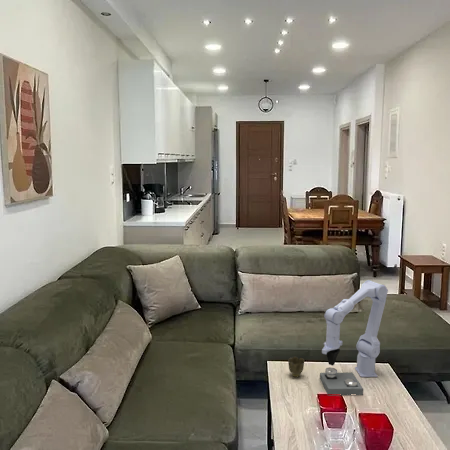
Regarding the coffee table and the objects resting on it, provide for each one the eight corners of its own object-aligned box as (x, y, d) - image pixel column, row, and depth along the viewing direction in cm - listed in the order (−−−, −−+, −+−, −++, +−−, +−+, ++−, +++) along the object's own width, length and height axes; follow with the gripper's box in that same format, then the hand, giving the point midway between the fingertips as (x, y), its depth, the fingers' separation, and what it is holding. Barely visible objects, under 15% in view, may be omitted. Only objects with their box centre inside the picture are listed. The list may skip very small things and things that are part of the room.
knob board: (319, 378, 215) (320, 372, 215) (352, 378, 216) (352, 372, 215) (328, 395, 200) (328, 388, 200) (362, 395, 201) (363, 388, 200)
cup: (306, 375, 219) (307, 358, 217) (300, 381, 212) (300, 364, 211) (291, 371, 223) (292, 355, 221) (285, 377, 216) (285, 360, 215)
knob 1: (323, 375, 213) (324, 367, 213) (335, 375, 213) (335, 367, 213) (326, 380, 208) (327, 372, 208) (338, 380, 208) (338, 372, 208)
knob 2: (343, 386, 207) (343, 378, 206) (354, 386, 207) (355, 378, 207) (346, 392, 202) (347, 384, 201) (358, 392, 202) (359, 384, 201)
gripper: (333, 328, 216) (331, 356, 218) (316, 337, 205) (315, 366, 207) (347, 332, 211) (345, 361, 213) (330, 342, 201) (329, 371, 203)
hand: (331, 364), depth 210 cm, fingers closed
